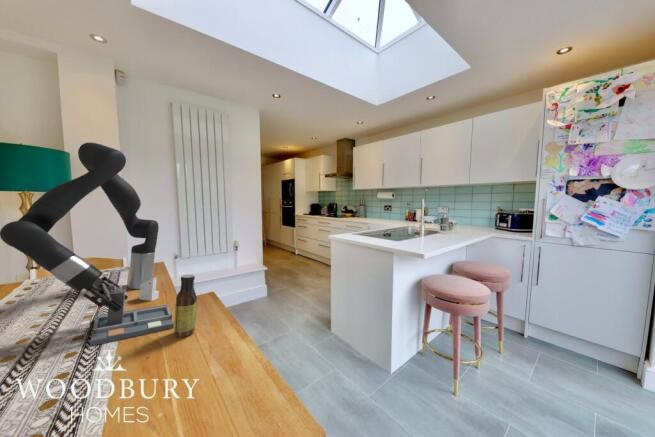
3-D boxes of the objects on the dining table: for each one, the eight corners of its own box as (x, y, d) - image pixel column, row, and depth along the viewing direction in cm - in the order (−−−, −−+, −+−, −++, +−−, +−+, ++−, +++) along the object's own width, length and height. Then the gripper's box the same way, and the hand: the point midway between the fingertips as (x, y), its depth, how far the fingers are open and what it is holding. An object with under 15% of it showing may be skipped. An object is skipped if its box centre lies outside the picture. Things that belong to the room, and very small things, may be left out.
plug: (109, 321, 78) (111, 285, 78) (123, 319, 81) (125, 284, 80) (106, 326, 76) (109, 289, 75) (121, 324, 78) (124, 287, 77)
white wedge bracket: (161, 296, 100) (153, 278, 100) (141, 305, 101) (134, 286, 101) (167, 293, 103) (160, 276, 104) (149, 302, 104) (141, 284, 104)
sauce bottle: (198, 331, 81) (203, 276, 80) (181, 340, 75) (186, 280, 75) (186, 326, 84) (191, 272, 83) (168, 333, 78) (173, 275, 77)
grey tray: (95, 320, 81) (95, 312, 81) (165, 308, 95) (166, 301, 95) (90, 346, 68) (90, 336, 68) (173, 328, 82) (174, 320, 82)
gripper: (81, 270, 67) (129, 304, 74) (96, 259, 80) (136, 288, 86) (53, 289, 65) (105, 323, 71) (73, 275, 77) (116, 304, 83)
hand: (122, 304), depth 79 cm, fingers open, 8 cm apart
